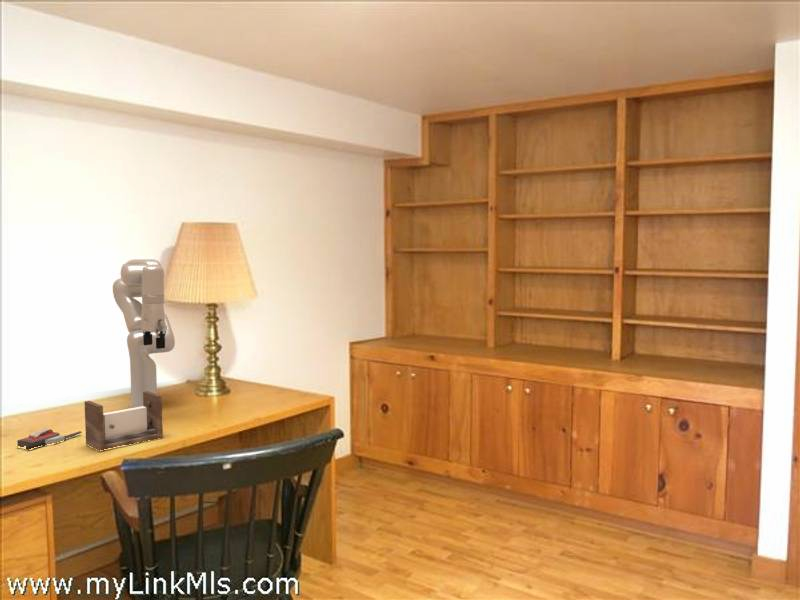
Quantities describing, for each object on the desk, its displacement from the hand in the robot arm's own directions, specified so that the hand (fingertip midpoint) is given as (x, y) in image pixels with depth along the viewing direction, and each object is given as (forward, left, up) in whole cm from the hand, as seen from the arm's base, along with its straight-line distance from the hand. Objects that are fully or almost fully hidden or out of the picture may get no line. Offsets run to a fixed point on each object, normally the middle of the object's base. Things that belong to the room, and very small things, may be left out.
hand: (154, 346), depth 243 cm
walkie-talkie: (-1, -37, -28) cm, 46 cm away
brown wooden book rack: (+17, -20, -28) cm, 38 cm away
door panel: (+17, -19, -26) cm, 37 cm away
